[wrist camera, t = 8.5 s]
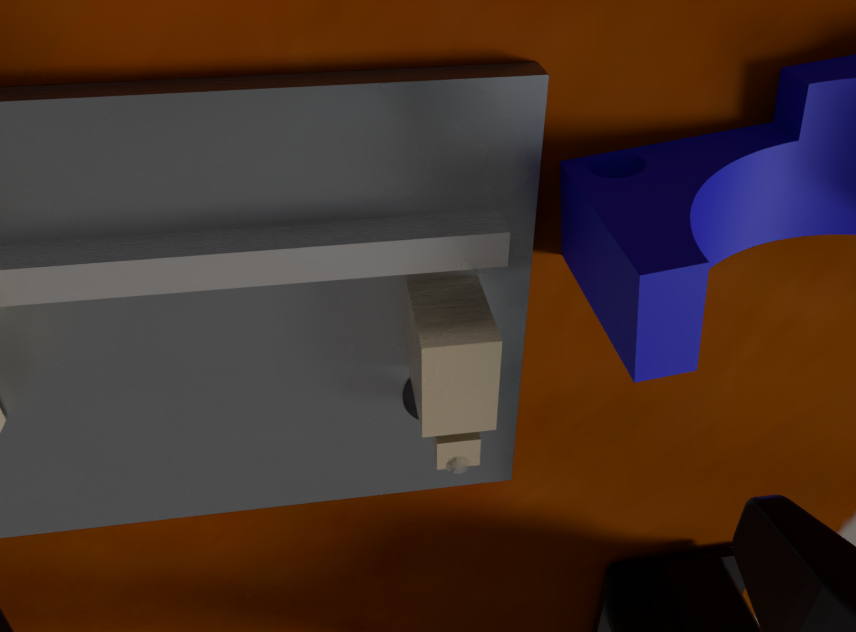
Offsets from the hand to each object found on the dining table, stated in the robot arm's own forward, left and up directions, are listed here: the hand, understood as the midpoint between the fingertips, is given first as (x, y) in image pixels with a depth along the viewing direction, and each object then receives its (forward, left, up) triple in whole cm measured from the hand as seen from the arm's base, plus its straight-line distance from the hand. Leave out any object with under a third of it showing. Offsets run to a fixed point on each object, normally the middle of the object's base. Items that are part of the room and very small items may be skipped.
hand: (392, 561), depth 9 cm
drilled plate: (-5, +5, -12) cm, 14 cm away
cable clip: (-1, -12, -13) cm, 18 cm away
